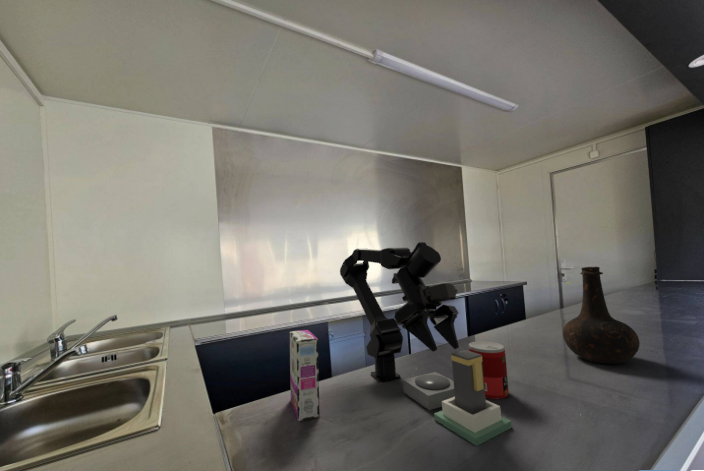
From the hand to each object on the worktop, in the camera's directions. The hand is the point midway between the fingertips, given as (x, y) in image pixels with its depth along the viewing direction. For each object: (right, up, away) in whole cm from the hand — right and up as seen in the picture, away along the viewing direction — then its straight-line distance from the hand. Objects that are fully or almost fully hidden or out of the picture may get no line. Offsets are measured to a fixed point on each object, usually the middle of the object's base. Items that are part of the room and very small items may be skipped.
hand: (446, 349), depth 62 cm
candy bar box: (-31, -15, +3) cm, 35 cm away
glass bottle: (+55, -13, +25) cm, 62 cm away
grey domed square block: (-1, -14, +6) cm, 15 cm away
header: (+3, -12, -6) cm, 14 cm away
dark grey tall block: (+3, -11, -6) cm, 13 cm away
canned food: (+13, -13, +7) cm, 20 cm away
